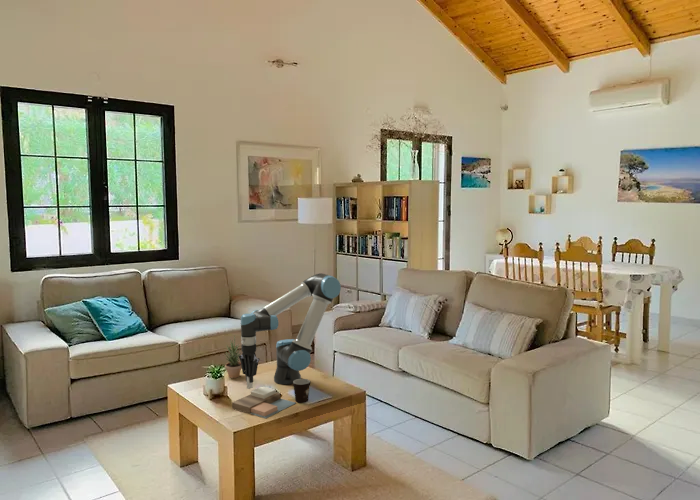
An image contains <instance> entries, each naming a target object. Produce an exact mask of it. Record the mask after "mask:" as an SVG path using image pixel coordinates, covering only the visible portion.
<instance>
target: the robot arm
mask: <svg viewBox="0 0 700 500" xmlns="http://www.w3.org/2000/svg"><path fill="white" fill-rule="evenodd" d="M341 287H342V286H341V282H340V280H339V279H338V278H336V277H334V276H333V275H329V274H326V273H321V272H320V273H316V274H313V275H311V276H309V277H308V278H307V279H305V280H303V281H301V282H300V285H298V286H297V287H295V288H293V289H291V290H290V291H288V292H286V293H285V294H283V295H282V296H280V297H279V298H277V299H275V300H274V301H272V302H270V303H268V304H267V305H266V306H265V305H264V307H262V308H260V309H259V310H258V309H255V310H253V311H251V312H250V313H243V314H242V315H241V317H240V333H241V335H240V339H241V341H240V343H241V349H240V350H241V354H240V355H239V357H238V358H239V359H240V360H239V359H238V360H239V362H241V372H242V374H243V375H244V376H245V382H246V389H247V390H251V389H253V384H254V383H253V382H254V377H255V376H257V372H258V366H259V362H260V360H261V359H260V358H259V357H257V354H256V351H257V344H256V343H257V333H258V332H266V331H273V330H274V331H275V330H277V329H278V328H279V319H278V315H280V314H281V313H283V312H284V311H286V310H288V309H289V308H291V307H292V306H294V305H296V304H298V303H299V302H301V301H303V300H304V299H305V298H307V297H308V298H309V297H312V302H311V303H310V306H309V308H308V310H307V313H306V315H305V317H304V320H303V322H302V324H301V327H300V329H299V331H298V334H297V336H296V338H295V339H294V338H291V339H289V338H288V339H280V340H278V341H276V343H275V344H276V346H275V348H276V351H275V352H276V369H275V373H274V375H273V381H274V383H276V384H279V385H292V384H293V381H294V380H297V379H302V376H301V375H302V374H301V372H300V371H304V370H305V369H307V368H308V367H309V365H310V364H311V361H312V357H311V353H312V351H313V349H312V348H313V347H312V346H311V345H312V343H313V341H314V338H315V335H316V333H317V331H318V329H319V326H320V324H321V321H322V319H323V317H324V314H325V312H326V311H327V309H328V305H330V304H332V302H333V300H334V299H335V298H337V297H338V296H339V294H340V293H341V289H342V288H341Z"/></svg>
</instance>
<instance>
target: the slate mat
mask: <svg viewBox="0 0 700 500" xmlns="http://www.w3.org/2000/svg"><path fill="white" fill-rule="evenodd" d="M271 404H272V405H275V406H277V409H278V410H277V411H275V412H273V413H271V414H269V415H267V416H261V415H258V414H255V413H250V414H251V415H253V416H257V417H259V418H263V419H268V418H269V417H272V416H274V415H277V414H278V413H280V412H282V411H284V410H286V409H288V408H289V407H292V406H294V405H296V404H297V402H296V401H292V400H288V399H285V398H280V399H279V400H277V401H275V402H273V403H271Z"/></svg>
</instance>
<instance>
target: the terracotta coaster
mask: <svg viewBox="0 0 700 500" xmlns="http://www.w3.org/2000/svg"><path fill="white" fill-rule="evenodd" d="M277 410H278V409H277V406H275V405H272V404H268V403H265V402H263V403H261V404H259V405H257V406H255V407H252V408H251V412H252V413H255V414H258V415H261V416H267V415H269V414H271V413H273V412H275V411H277Z"/></svg>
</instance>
